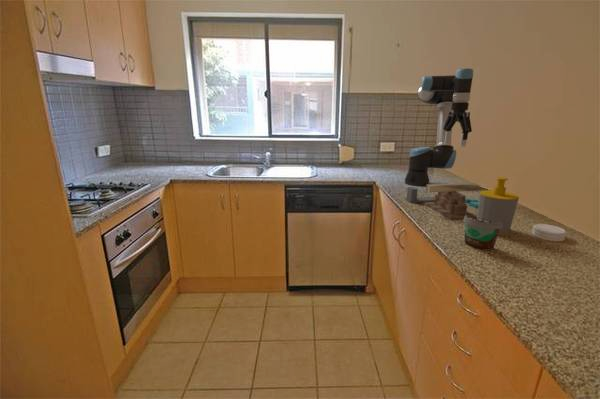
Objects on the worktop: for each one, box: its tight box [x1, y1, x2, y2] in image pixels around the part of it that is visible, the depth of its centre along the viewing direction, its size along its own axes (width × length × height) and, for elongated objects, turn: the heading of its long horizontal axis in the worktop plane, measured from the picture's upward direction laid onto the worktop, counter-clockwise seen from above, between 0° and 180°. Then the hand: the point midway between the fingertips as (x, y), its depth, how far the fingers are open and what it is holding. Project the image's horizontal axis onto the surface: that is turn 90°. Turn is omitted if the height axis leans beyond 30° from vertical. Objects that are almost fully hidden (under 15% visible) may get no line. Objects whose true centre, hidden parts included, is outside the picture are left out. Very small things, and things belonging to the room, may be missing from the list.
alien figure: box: [465, 197, 479, 209], centre depth 157 cm, size 20×2×20 cm
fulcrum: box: [424, 191, 477, 220], centre depth 146 cm, size 22×12×10 cm, turn 7°
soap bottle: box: [476, 176, 520, 236], centre depth 122 cm, size 13×13×21 cm
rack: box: [404, 186, 435, 204], centre depth 163 cm, size 6×24×7 cm, turn 97°
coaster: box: [531, 223, 567, 242], centre depth 118 cm, size 10×10×4 cm
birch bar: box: [425, 182, 479, 193], centre depth 144 cm, size 3×24×3 cm, turn 97°
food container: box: [462, 214, 503, 251], centre depth 108 cm, size 12×6×10 cm, turn 45°
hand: (454, 145), depth 161 cm, fingers open, 13 cm apart
